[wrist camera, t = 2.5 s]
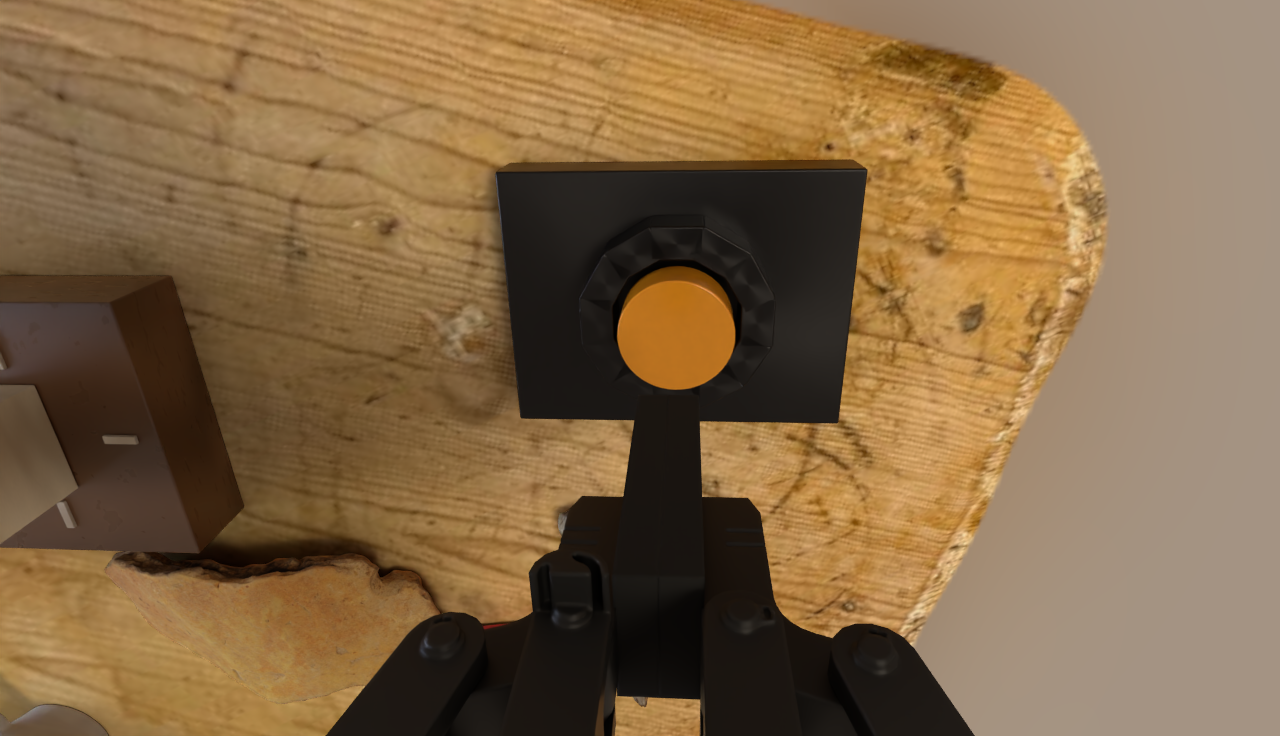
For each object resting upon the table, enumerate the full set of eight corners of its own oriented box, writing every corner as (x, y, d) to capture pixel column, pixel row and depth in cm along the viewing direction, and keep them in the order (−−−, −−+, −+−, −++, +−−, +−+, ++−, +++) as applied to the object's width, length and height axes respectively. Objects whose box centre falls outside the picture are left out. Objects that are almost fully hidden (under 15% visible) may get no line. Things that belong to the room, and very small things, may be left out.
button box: (509, 162, 26) (480, 180, 23) (854, 159, 26) (881, 177, 22) (531, 395, 31) (509, 441, 27) (828, 399, 30) (847, 447, 26)
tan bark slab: (476, 663, 38) (435, 521, 34) (446, 734, 34) (394, 587, 30) (207, 644, 41) (135, 512, 37) (153, 707, 38) (65, 570, 33)
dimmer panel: (-69, 274, 30) (-162, 302, 27) (172, 275, 29) (106, 303, 26) (37, 502, 35) (-31, 549, 32) (244, 507, 34) (197, 556, 31)
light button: (619, 265, 24) (614, 280, 23) (734, 265, 24) (738, 280, 22) (623, 369, 26) (618, 389, 24) (730, 370, 26) (733, 391, 24)
